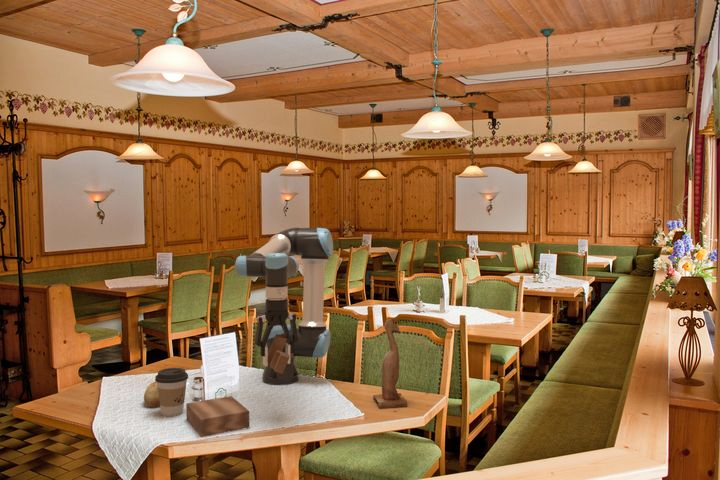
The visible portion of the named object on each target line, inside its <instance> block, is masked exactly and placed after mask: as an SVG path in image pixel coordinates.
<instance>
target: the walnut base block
mask: <svg viewBox="0 0 720 480" xmlns="http://www.w3.org/2000/svg"><path fill="white" fill-rule="evenodd" d="M185 411H186V420H187V422H188V423H189V424H190V426H192V428H193V429H194V430H195V431H196V432H197V433H198V435H199V436H200V437H201V438H202V437H203V438H204V437H207V436H215V435H219V434H223V433H224V432H225V433H229V432H228V431H230V432H235V431H239V430H240V431H241V430H245V429H249V428H250V410H249V409H247V408H246V406H244V405H243V404H242V403H241V402H239V401H238V400H237V399H236V398H235V397H233V396H232V395H231V396H230V395H229V396H223V397H217V398H212V399H204V400H199V401H193V402H187V403H186V410H185ZM248 427H249V428H248ZM244 428H245V429H244ZM234 430H235V431H234Z"/></svg>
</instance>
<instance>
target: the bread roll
mask: <svg viewBox="0 0 720 480" xmlns="http://www.w3.org/2000/svg"><path fill="white" fill-rule="evenodd" d="M143 400H144V404H145V405H146V406H147V407H149V408H157V407H160V401H159V394H158V387H157V382H156V381H153V382H151V383H150V384H149V385H148V386H147V387H146V389H145V391H144V394H143Z"/></svg>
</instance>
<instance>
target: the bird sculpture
mask: <svg viewBox="0 0 720 480" xmlns="http://www.w3.org/2000/svg"><path fill="white" fill-rule="evenodd" d="M384 330H385V333H386V335H387V339H388V343H389V351H387V352H386V353H385V355H384V357H383V359H382V367H381V394H373V395H372V400H376V401H377V405H378V409H380V408H381V409H387V408H388V409H390V408H393V409H395V408H404V407H405V408H407V406H408V400H407V399H406V398H405V397H404V396H403V394H402V393H401V392H399V393H398V390H397V388H396V384H397V383H398V381H399V377H400V353H399V347H398V345H397V342H396V340H395V336H394V333H399V334H400V332H401V331H400V327H399V326H398V325H397V324H396V323H394V322H393V320H392V319H391V318H389V319H387V320H386V321H385V322H384Z"/></svg>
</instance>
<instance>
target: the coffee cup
mask: <svg viewBox="0 0 720 480" xmlns="http://www.w3.org/2000/svg"><path fill="white" fill-rule="evenodd" d="M188 379H189V373H188V372H186V370H185V369H184V368H182V367H167V368H164V369H163V368H162V369H160V370H159V371H158V372H157V375H155V379H154V380H155V381H156V382H157V387H158V394H159V401H160V406H159V407H160V413H161V415H162V416H163V417H176V416H180V415H182V414H183V411H184V406H185V399H186V398H185V397H186V391H187V390H186V389H187V382H188V381H187V380H188ZM155 381H154V382H155Z"/></svg>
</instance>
